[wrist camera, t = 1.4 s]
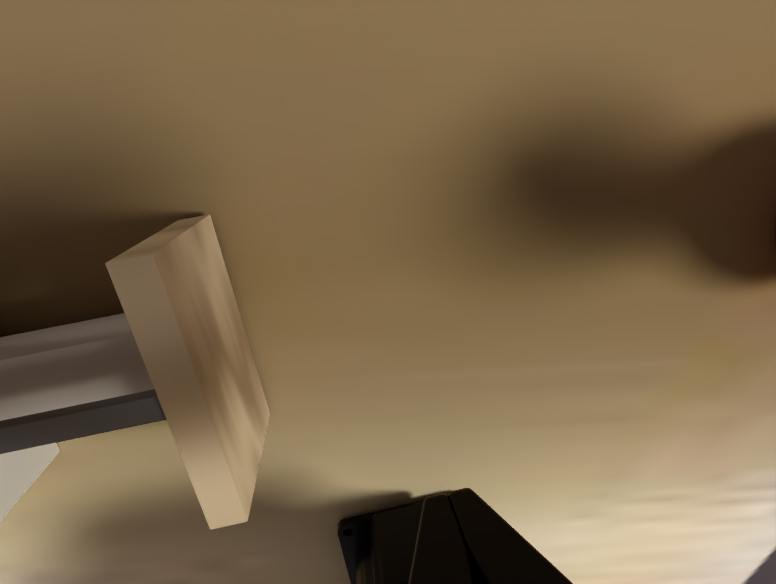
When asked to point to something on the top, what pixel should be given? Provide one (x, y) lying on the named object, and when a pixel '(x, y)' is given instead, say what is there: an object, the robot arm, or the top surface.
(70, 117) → the top surface
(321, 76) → the top surface
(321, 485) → the top surface
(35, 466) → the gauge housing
